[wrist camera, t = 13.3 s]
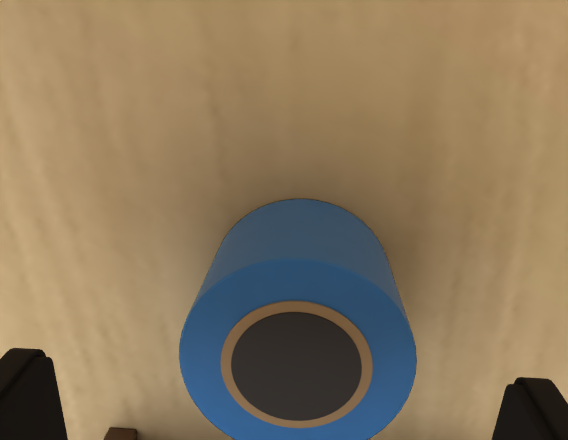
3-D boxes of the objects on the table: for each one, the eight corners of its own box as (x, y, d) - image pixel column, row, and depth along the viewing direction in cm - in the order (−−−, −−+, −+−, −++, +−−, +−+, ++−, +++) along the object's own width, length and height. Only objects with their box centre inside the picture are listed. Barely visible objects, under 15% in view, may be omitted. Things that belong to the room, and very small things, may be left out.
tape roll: (212, 193, 17) (171, 253, 12) (400, 203, 17) (435, 268, 12) (214, 349, 19) (181, 451, 14) (379, 360, 19) (401, 468, 14)
